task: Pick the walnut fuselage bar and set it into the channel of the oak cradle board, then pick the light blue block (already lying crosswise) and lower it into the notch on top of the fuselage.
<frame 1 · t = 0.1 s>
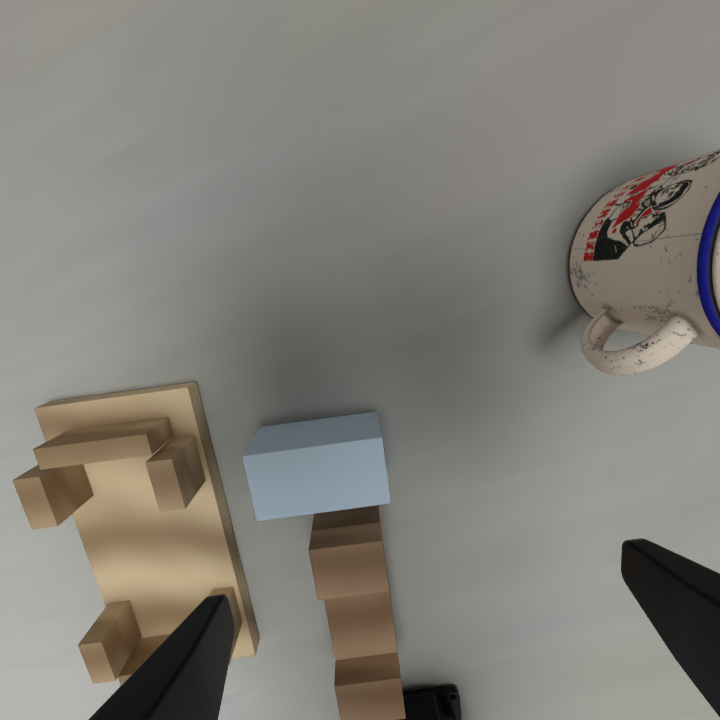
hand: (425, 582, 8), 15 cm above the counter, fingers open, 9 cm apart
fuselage: (358, 571, 25), on the counter
light blue block: (323, 446, 23), on the counter
jig: (165, 531, 24), on the counter
teacup with lid: (616, 275, 21), on the counter
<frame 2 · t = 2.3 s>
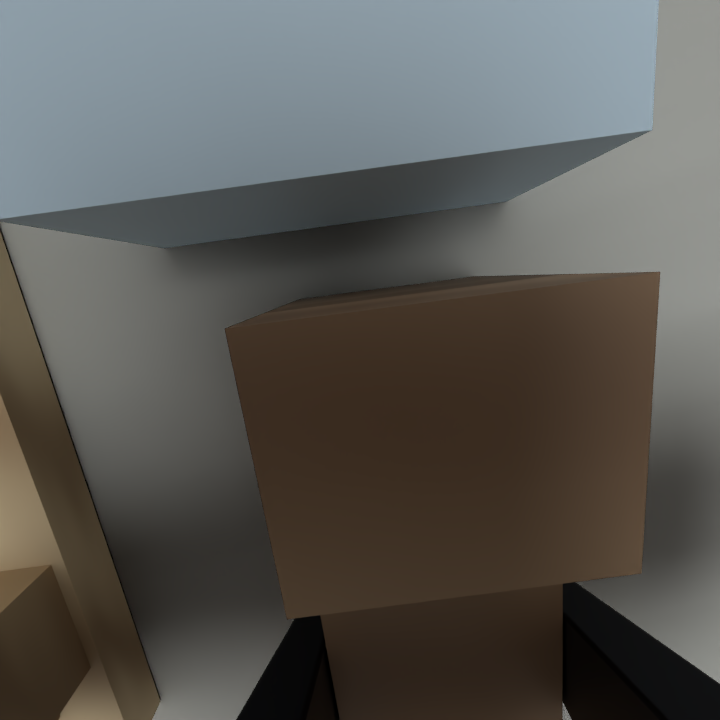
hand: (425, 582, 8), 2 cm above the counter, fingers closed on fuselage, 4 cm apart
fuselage: (412, 531, 10), on the counter, touching gripper
light blue block: (321, 125, 7), on the counter
when the fingers open (4 cm above the counter, at t = 5.7 s): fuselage drops 1 cm, resting on jig.
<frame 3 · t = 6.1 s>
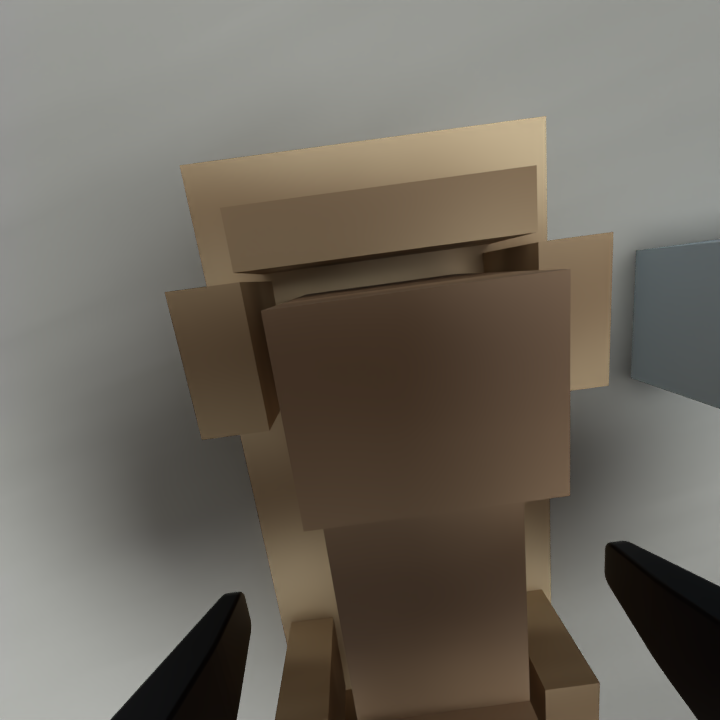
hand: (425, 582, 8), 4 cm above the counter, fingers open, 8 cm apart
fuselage: (406, 498, 11), point 1 cm above the counter, touching jig
jig: (399, 479, 12), on the counter
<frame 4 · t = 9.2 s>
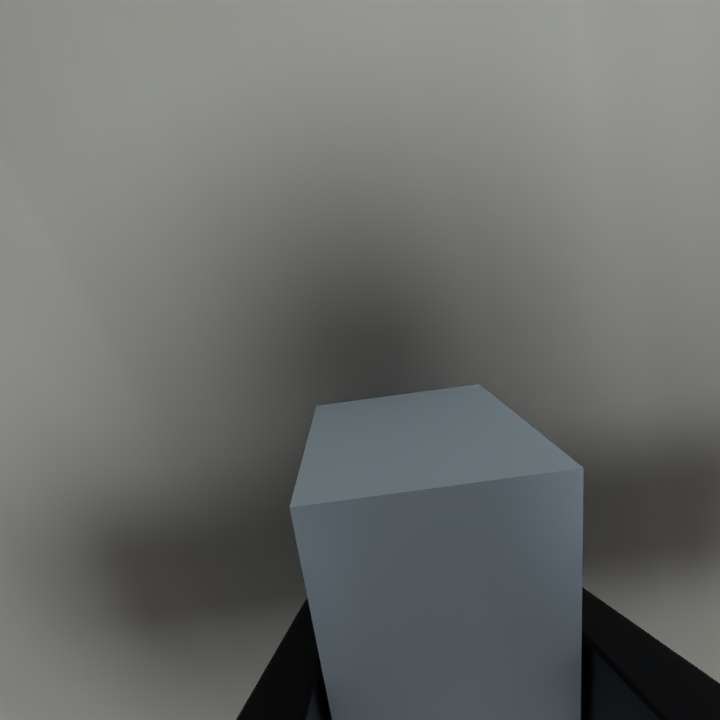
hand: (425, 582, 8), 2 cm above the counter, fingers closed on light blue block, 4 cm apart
light blue block: (412, 525, 10), on the counter, touching gripper
when the fingers open (8 cm above the counter, at t = 12.1 s): light blue block drops 2 cm, resting on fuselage.
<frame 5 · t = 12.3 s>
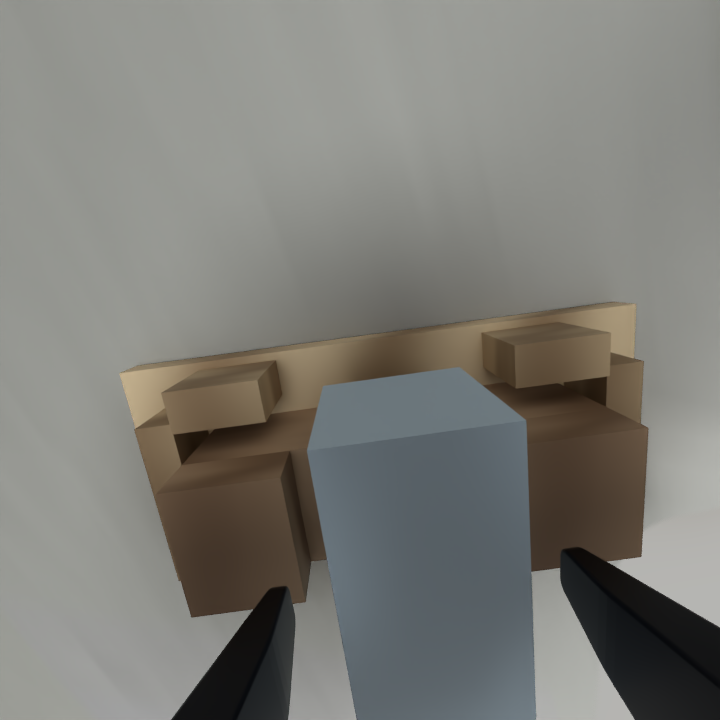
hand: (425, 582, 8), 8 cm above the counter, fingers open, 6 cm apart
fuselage: (389, 444, 15), point 1 cm above the counter, touching jig, light blue block
light blue block: (404, 490, 11), point 5 cm above the counter, touching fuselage
jig: (387, 433, 16), on the counter
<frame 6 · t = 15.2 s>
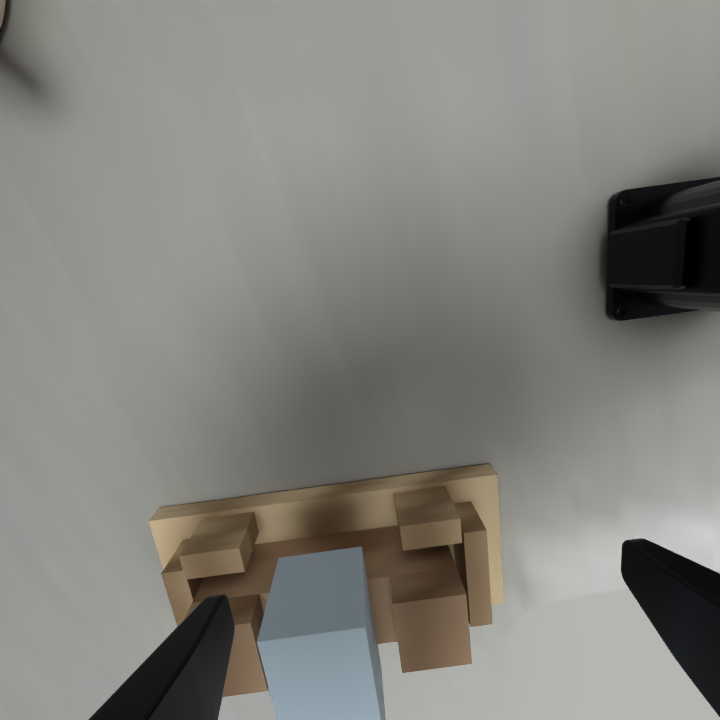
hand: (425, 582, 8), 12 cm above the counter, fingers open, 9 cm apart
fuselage: (333, 563, 21), point 1 cm above the counter, touching jig, light blue block
light blue block: (332, 615, 18), point 5 cm above the counter, touching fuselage
jig: (335, 549, 22), on the counter
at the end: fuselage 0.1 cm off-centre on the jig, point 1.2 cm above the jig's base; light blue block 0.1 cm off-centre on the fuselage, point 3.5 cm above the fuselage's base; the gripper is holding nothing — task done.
